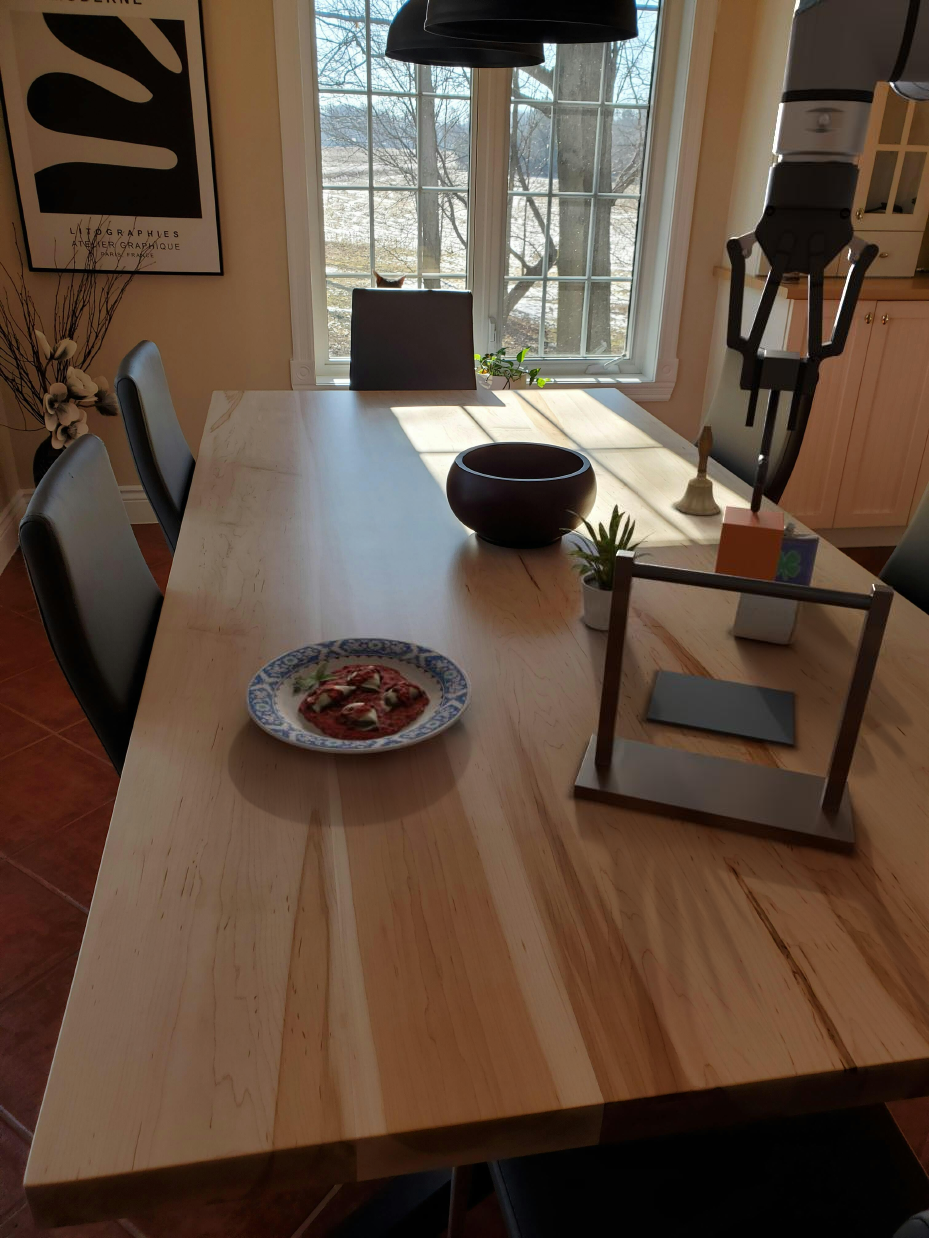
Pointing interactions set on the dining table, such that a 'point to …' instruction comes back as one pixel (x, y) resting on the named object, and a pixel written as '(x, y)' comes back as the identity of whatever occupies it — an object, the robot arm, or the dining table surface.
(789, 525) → the flask
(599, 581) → the house plant
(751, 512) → the orange block with hook
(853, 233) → the robot arm
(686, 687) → the mat
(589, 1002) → the dining table surface
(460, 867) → the dining table surface
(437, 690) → the ceramic plate
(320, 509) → the dining table surface
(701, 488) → the hand bell
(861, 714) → the rack
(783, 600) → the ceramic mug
